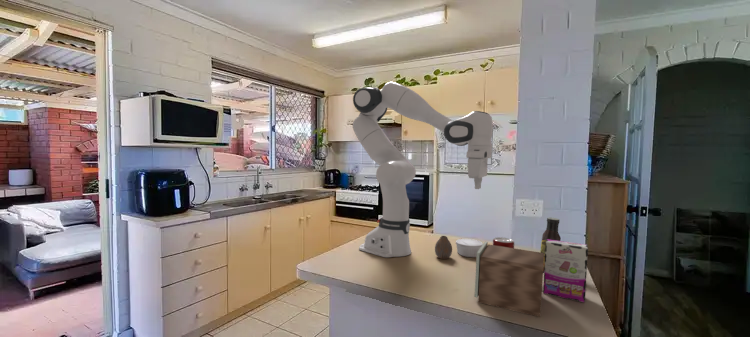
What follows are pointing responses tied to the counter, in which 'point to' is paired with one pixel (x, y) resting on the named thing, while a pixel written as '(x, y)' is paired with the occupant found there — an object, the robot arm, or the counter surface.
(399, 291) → the counter surface
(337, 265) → the counter surface
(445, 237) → the vase
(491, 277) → the tan box
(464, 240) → the ramekin
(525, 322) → the counter surface
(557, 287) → the candy bar box
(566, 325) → the counter surface
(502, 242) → the soda can
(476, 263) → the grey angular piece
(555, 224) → the sauce bottle
